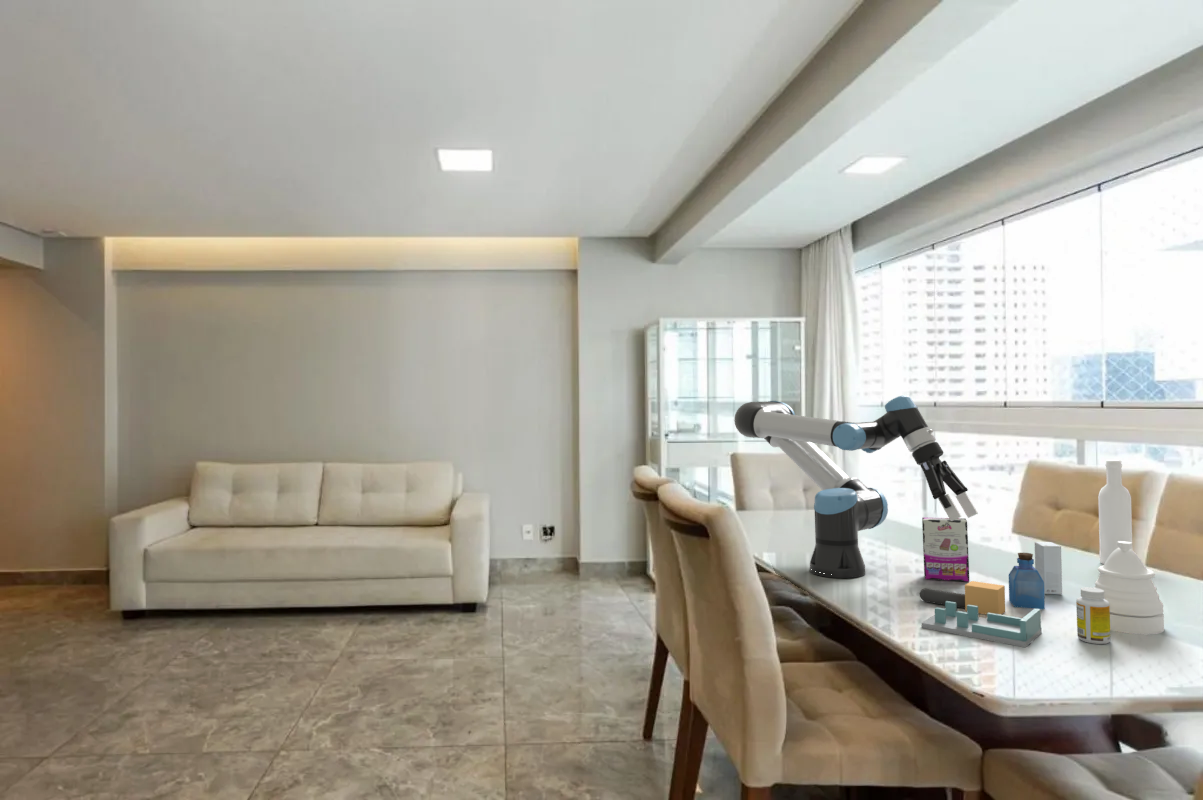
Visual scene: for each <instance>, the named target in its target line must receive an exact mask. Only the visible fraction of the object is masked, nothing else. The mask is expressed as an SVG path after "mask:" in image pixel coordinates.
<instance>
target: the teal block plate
mask: <svg viewBox="0 0 1203 800" xmlns="http://www.w3.org/2000/svg"><path fill="white" fill-rule="evenodd" d="M944 606H945V608H942V607H935V608H934V615H932V616H930V617H929V618H927V619H926V620H924V621H922V622H921V628H922V629H926V630H927V629H929V630H934V631H937V632H942V633H949V634H952V635H953V634H954V635H958V636H959V635H960V636H964V637H969V638H975V639H979V640H980V639H981V640H983V641H990V642H996V643H1001V644H1005V645H1011V646H1017V647H1022V648H1027V647H1028V646H1029V645H1030V644H1031V643H1032V642H1033V641H1034V640H1036V638H1037V637H1039V636H1040V635H1041V634H1042V621H1041V619H1042V618H1041V616H1042V615H1041V609H1036V608H1032V610H1030V612H1028V613H1027V614H1026V615H1025V616H1023V617H1017V616H1014V615H1013V616H1012V615H1006V614H1002V615H1001V614H995V613H989V612H988V613H987V615H986V618H985V617H982V616H979V613H978V606H975V605H967V611H960V610H958V611H957V608H958V607H956V602H950V601H946V602H945V605H944Z"/></svg>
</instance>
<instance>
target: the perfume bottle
mask: <svg viewBox="0 0 1203 800" xmlns="http://www.w3.org/2000/svg"><path fill="white" fill-rule="evenodd" d="M1017 555H1018V557H1017V558H1016V562H1017V564H1018V565H1014V566H1013V567H1012V569H1011V570H1010V572H1009V573H1008V599H1009V602H1010V603H1011V605H1012V606H1013V607H1014V608H1021V609H1035V608H1036V609H1040V610H1045V609H1046V606H1045V594H1044V581H1043V580H1042V578H1041V576H1040V574H1039V573H1038V571H1037V570H1036V569H1035V566H1033V565H1035V558H1034V554H1033V553H1029V552H1017ZM1033 558H1034V559H1033Z"/></svg>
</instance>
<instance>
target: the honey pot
mask: <svg viewBox="0 0 1203 800" xmlns="http://www.w3.org/2000/svg"><path fill="white" fill-rule="evenodd" d="M1117 543H1118V547H1119V548H1117V549H1116V550H1114V551H1113V552H1112V553H1111V554H1110V556H1109V557H1108V559H1107V560H1106V562H1105V564H1102V565H1100V566H1098V568H1097V570H1098V572H1099V575H1098V577H1097V579H1096V580H1095V582H1094V587H1093V588H1098V589H1102V590H1104V596H1105V598H1104V599H1105V600H1107V601H1108V602H1109V605H1110V631H1113V632H1117V633H1124V634H1132V635H1157V634H1162V633H1163V632H1165V619H1164V618H1165V617H1164V616H1165V615H1164V614H1165V613H1164V604H1163V603H1164V602H1162V601H1161V599H1160V594H1159V593H1158V591H1157V586H1155V583H1154V582H1153V578H1155V576H1156V572H1155V571H1154V570H1153V569H1149V568H1147V567H1146V566H1145V563H1144V562H1143V561H1142V559H1141V557H1140V556H1139V555H1138V554H1137V553H1136V552H1135V551H1134V550H1131V547H1132V548H1133V541H1132V542H1126V541H1118V542H1117Z"/></svg>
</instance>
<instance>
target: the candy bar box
mask: <svg viewBox="0 0 1203 800" xmlns="http://www.w3.org/2000/svg"><path fill="white" fill-rule="evenodd" d="M921 520H922V521H921V525H922V526H921V527H922V529H921V530H922V545H923V546H922V547H923V548H922V551H923V552H922V553H923V575H924V580H930V581H931V580H932V581H948V582H965V583H966V582H967V583H969V582H970V561H969V560H970V559H969V536H968V535H969V534H968V521H967V518H962V517H960V518H958V519H955V520H953V521H951V520H950V518H949V517H924V516H923V517H922V519H921Z"/></svg>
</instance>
